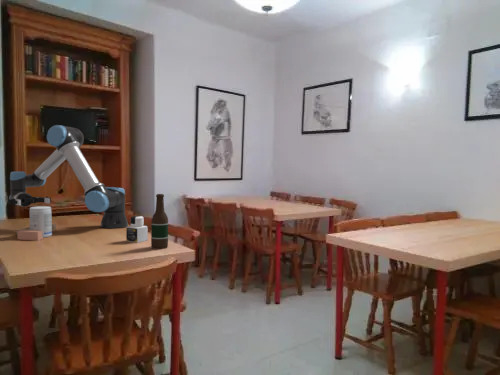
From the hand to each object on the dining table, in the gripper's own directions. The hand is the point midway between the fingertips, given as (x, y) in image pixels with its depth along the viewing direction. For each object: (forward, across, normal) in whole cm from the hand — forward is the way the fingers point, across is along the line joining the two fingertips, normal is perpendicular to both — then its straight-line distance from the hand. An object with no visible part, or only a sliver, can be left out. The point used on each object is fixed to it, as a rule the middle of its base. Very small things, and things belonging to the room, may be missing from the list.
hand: (35, 201), depth 191 cm
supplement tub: (+11, +1, -17) cm, 20 cm away
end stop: (+16, +7, -17) cm, 24 cm away
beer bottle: (+70, -31, -18) cm, 78 cm away
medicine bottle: (+51, -30, -18) cm, 62 cm away
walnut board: (-1, -1, -16) cm, 16 cm away
